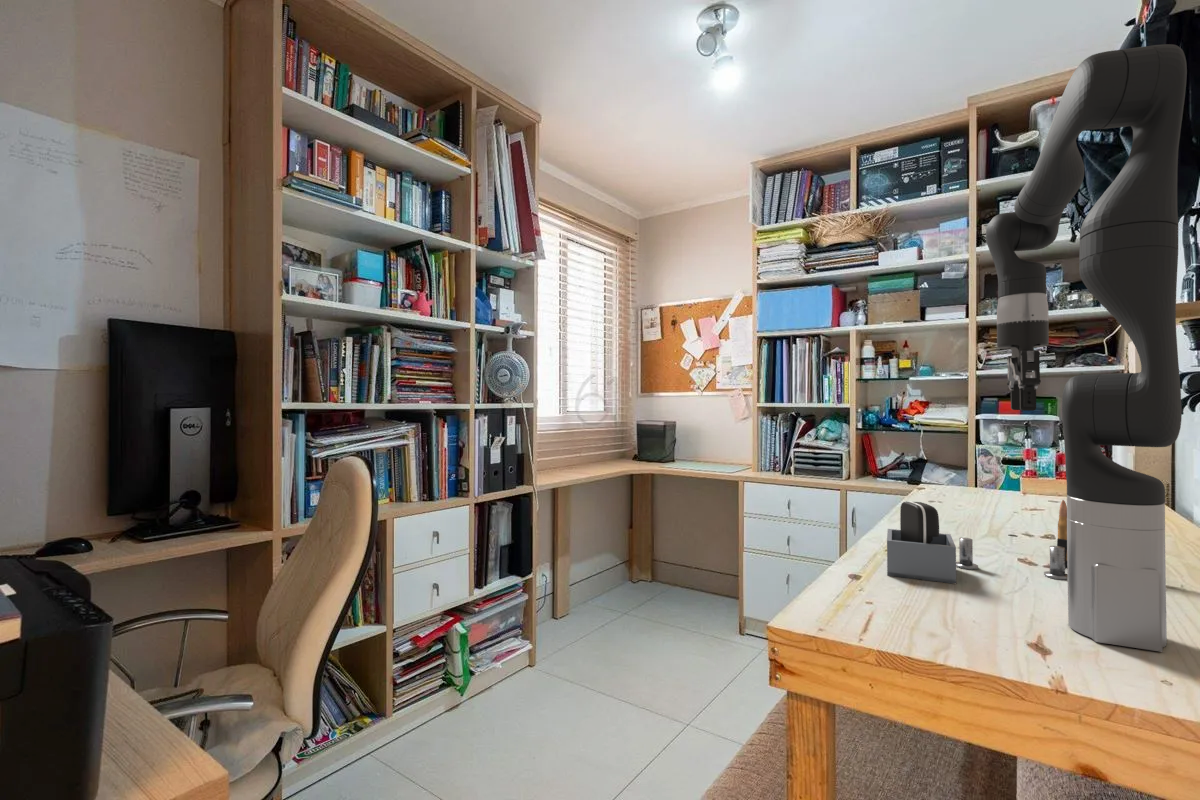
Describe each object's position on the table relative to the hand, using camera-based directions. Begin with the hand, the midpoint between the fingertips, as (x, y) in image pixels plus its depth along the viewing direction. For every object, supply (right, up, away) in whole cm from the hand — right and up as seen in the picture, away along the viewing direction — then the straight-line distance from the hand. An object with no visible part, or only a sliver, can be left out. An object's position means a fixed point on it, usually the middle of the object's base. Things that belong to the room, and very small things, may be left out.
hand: (1023, 410), depth 101 cm
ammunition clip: (+9, -28, -5) cm, 30 cm away
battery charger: (-21, -28, -4) cm, 35 cm away
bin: (-21, -28, -4) cm, 35 cm away
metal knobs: (-5, -28, -4) cm, 29 cm away
